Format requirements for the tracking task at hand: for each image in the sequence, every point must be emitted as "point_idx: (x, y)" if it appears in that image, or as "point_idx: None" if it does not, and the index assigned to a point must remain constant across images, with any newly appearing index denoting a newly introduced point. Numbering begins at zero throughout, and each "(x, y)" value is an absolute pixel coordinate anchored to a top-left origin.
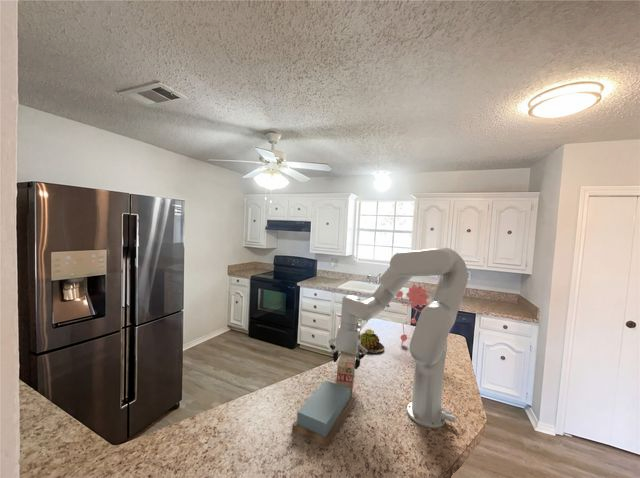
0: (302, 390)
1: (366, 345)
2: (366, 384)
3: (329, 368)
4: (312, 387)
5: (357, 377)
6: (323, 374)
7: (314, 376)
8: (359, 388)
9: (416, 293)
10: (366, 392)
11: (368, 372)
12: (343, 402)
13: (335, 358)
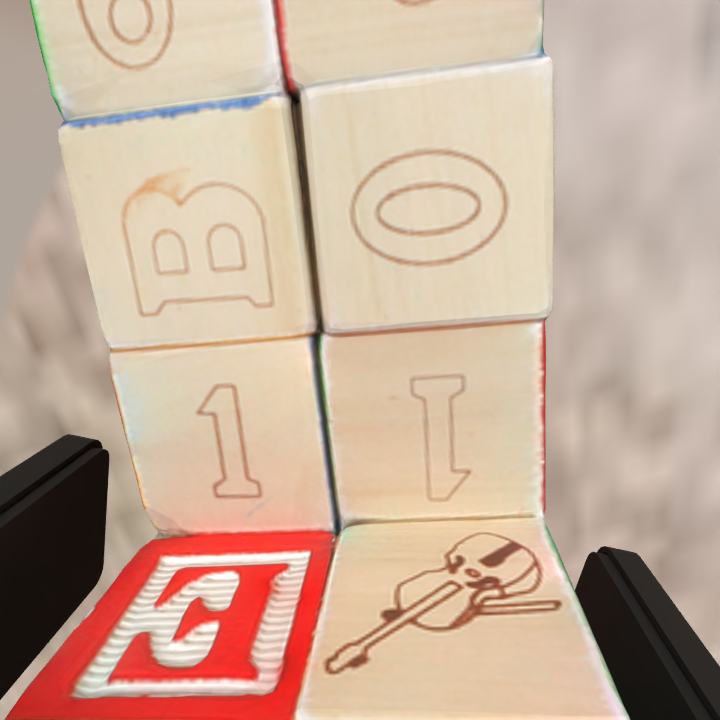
0: (21, 678)
1: None
2: (656, 398)
3: None
4: (79, 619)
5: None
6: (80, 363)
7: (8, 438)
8: (562, 505)
9: None
10: (649, 553)
11: (708, 45)
12: None
13: (47, 636)
